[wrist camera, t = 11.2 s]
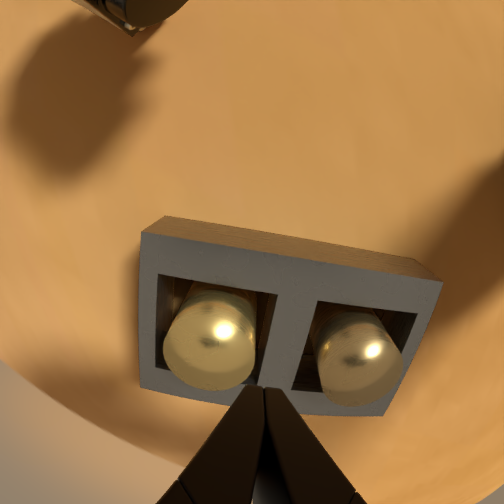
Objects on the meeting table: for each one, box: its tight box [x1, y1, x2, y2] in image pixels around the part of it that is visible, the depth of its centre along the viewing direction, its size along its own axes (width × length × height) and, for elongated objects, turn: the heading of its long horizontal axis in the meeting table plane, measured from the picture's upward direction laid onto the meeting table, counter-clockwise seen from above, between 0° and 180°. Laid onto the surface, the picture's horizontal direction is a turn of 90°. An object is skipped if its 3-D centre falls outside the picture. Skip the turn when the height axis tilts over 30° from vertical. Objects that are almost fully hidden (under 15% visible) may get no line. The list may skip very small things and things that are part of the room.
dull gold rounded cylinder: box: [309, 301, 403, 407], centre depth 17 cm, size 4×4×6 cm
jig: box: [138, 216, 444, 416], centre depth 18 cm, size 16×10×4 cm, turn 81°
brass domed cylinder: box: [163, 281, 257, 391], centre depth 17 cm, size 4×4×6 cm
